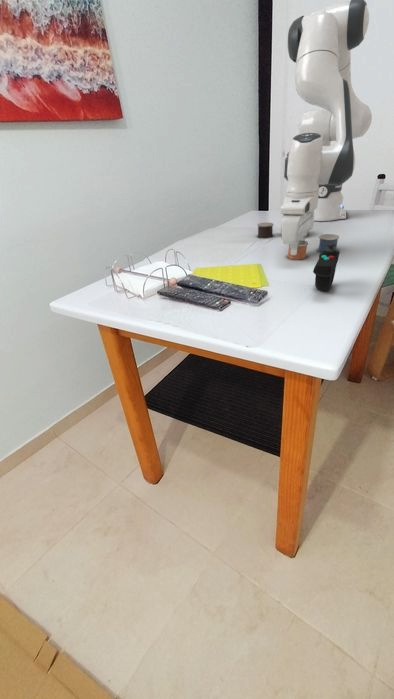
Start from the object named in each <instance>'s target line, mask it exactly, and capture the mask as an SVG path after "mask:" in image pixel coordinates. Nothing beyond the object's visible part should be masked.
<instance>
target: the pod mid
mask: <svg viewBox="0 0 394 699" xmlns="http://www.w3.org/2000/svg"><path fill="white" fill-rule="evenodd" d="M287 245H288V251H287V252H288V253H287V258H288V259H290V260H303V259H305V258H306V257H307V248H308V245H309V241H307V240H305V241H303V240H299V241H298V253H297V254H296V255H291V254H290V252H291V248H290V244H287Z"/></svg>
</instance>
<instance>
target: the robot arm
mask: <svg viewBox="0 0 394 699" xmlns="http://www.w3.org/2000/svg"><path fill="white" fill-rule="evenodd" d="M367 4H368V3H367V2H366V0H349V1H342V2H337V3H333V4H329V5H326V7H323V8H320V9H317V10H315V11H313V12H311V13H308V14H307V15H301V16H299V17H298V18H296V19H294V20H293V21H292V23H291V24H290V26H289V28H288V33H287V38H286V47H287V48H286V49H287V52H288V56H289V59H290V60H291V61H292V62H293V63H295V71H294V72H295V73H294V86H295V87H294V88H295V91H296V92H297V94H298V96H299V97H300V98H301V99H302V100H303V101H304V102H305V103H308V104H309V105H312V106H314V107H315V106H316V107H317V108H314V109H311V110H309V111H308V110H307V111H306V112H304V114H303V115H302V116H301V118H300V120H299V123H298V134H297V135H295V136H294V137H292V138H291V140H290V145H289V153H288V155H287V156H286V157H285V158H284V173H283V178H284V179H285V180H286V181H287V185H286V188H285V197H284V201H283V202H282V204H281V206H280V214H281V215H282V217H281V218H282V219H281V229H282V233H281V241H282V243H283V244H286V245H288V244H290V248H291V252H290V254H291V255H296V254H297V253H298V241H299V240H303V241H306V238H307V235H308V234H307V232H308V231H309V232H310V231H311V230H312V229H313V227H314V222H328V221H329V222H330V221H331V222H332V221H337V220H344V219H347V210H346V209H345V205H343V202H344V195H343V194H342V190H343V184H344V183H346V182H347V181H348V180H350V179H351V177H352V176H353V173H354V171H355V167H356V154H355V149H354V142H353V140H355V139H359V138H361V137H363V136H365V134H366V133H367V132H368V131H369V129H370V126H371V124H372V119H373V115H372V110H371V109H370V106H369V105H368V104H366V103H364V102H362V101H361V100H360V99H359V97H358V96H357V95H356V93H355V91H354V88H353V84H352V74H351V70H352V68H351V53H352V52H351V51H352V50H353V49H356V48H357V47H359V46H360V45H361V43H362V42H364V40H365V36H366V35H367V31H368V28H369V23H370V12H369V8H368V5H367ZM331 142H336V143H335V144H332V145H331ZM306 234H307V235H306Z"/></svg>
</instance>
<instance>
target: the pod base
mask: <svg viewBox="0 0 394 699" xmlns="http://www.w3.org/2000/svg"><path fill="white" fill-rule="evenodd" d="M274 224H275V223H273V222H268V221H267V222H266V221H265V222H259V223H257V237H258V238H260V239H268V238H272V237H273V229H274V228H273V226H274Z"/></svg>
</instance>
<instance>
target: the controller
mask: <svg viewBox="0 0 394 699" xmlns="http://www.w3.org/2000/svg"><path fill="white" fill-rule="evenodd" d="M326 246H327V247H328V248H327V249H326V250H324V251H322V252H320V254H319V255H318V259H317V261H316V263H315V265H314V268H313V270H312V273H313V274H314V275H315V277H314V283H315V284H314V286H315V288H316V289H317V290H318V291H330V290H331V289H332V286H333V284H334V283H333V282H334V278H335V275H336V270H337V265H338V261H339V257H340V253H341V252H340V251H338V250H337V249H336V250H335V249H334V248H333V247H335V246H336V244H335V243H327V244H326Z"/></svg>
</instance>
